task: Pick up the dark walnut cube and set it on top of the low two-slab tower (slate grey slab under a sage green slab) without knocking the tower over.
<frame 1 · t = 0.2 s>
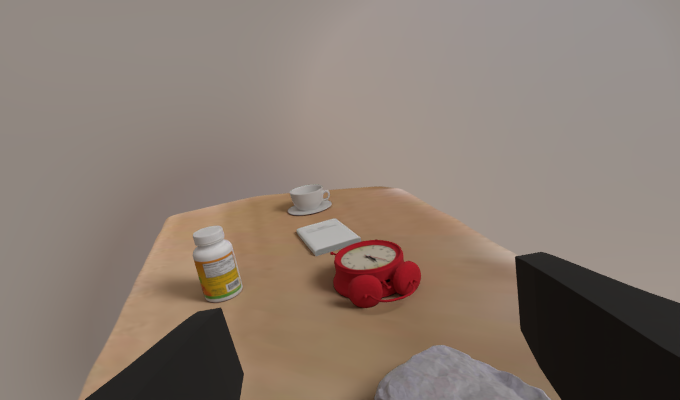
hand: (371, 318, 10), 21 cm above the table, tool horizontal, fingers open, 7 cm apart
teacup: (310, 209, 91), on the table
supplement bottle: (224, 294, 59), on the table
alarm clock: (377, 287, 54), on the table
external hard drive: (328, 241, 73), on the table
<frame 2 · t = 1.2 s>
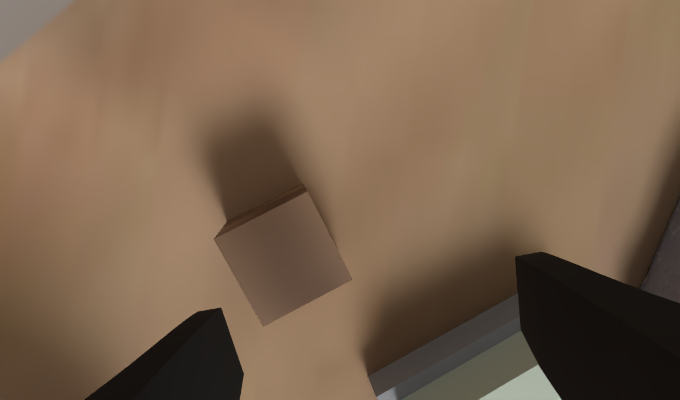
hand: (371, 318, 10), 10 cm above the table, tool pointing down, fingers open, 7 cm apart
walnut cube: (284, 238, 20), on the table
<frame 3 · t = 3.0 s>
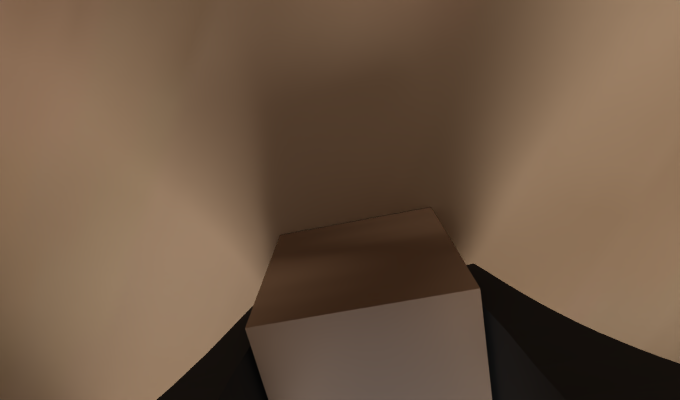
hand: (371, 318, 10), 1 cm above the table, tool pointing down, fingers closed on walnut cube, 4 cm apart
walnut cube: (368, 287, 11), on the table, touching gripper
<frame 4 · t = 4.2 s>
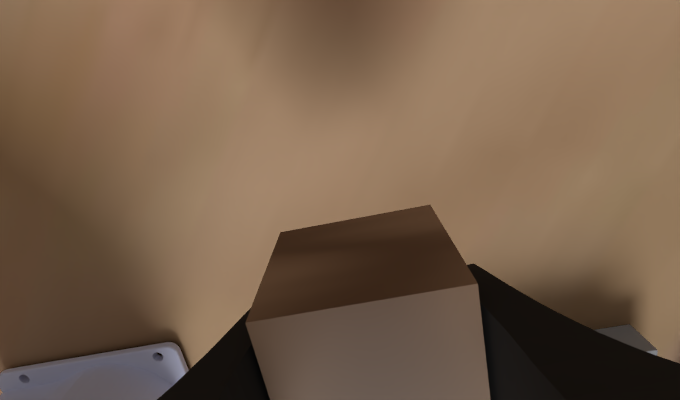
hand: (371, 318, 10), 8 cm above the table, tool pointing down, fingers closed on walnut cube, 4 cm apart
walnut cube: (367, 284, 11), point 7 cm above the table, touching gripper
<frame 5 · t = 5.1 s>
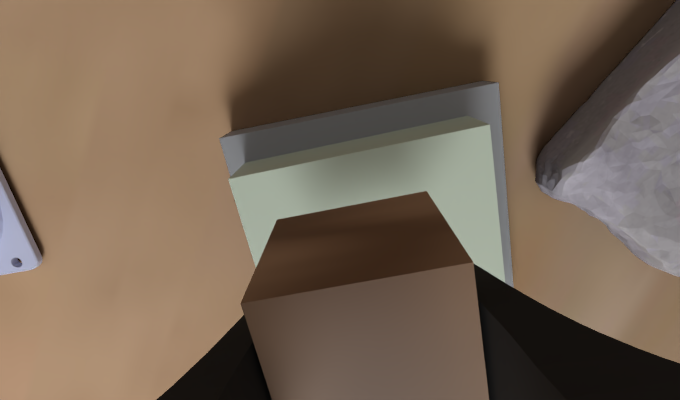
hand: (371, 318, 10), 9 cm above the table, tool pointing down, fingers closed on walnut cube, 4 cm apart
walnut cube: (364, 272, 11), point 8 cm above the table, touching gripper
green top slab: (374, 241, 17), point 2 cm above the table
grey base slab: (374, 218, 20), on the table
when the fingers open (7 cm above the table, at t = 6.1 s): walnut cube drops 1 cm, point 4 cm above the table.
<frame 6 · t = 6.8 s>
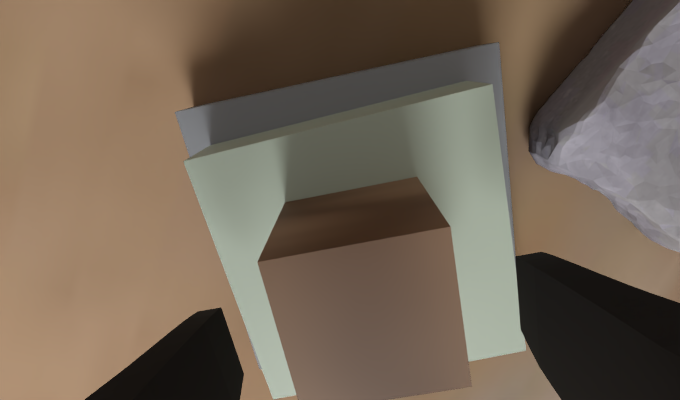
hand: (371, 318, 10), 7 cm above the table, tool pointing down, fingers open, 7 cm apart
walnut cube: (362, 250, 13), point 4 cm above the table
green top slab: (364, 232, 15), point 2 cm above the table, touching grey base slab
grey base slab: (360, 206, 18), on the table, touching green top slab
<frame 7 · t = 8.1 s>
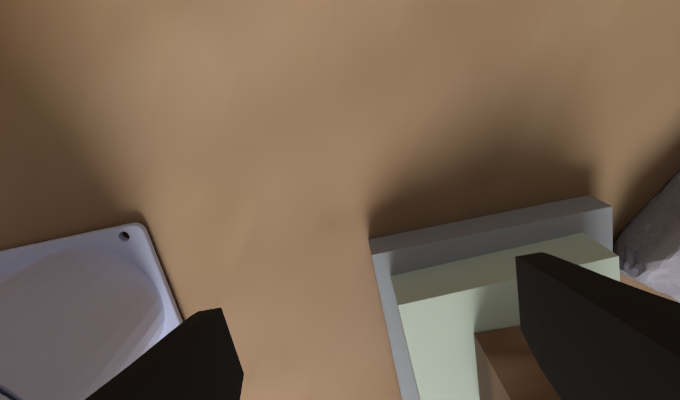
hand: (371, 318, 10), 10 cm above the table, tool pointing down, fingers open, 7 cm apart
walnut cube: (522, 364, 18), point 4 cm above the table, touching green top slab
green top slab: (497, 334, 20), point 2 cm above the table, touching grey base slab, walnut cube
grey base slab: (483, 303, 23), on the table, touching green top slab
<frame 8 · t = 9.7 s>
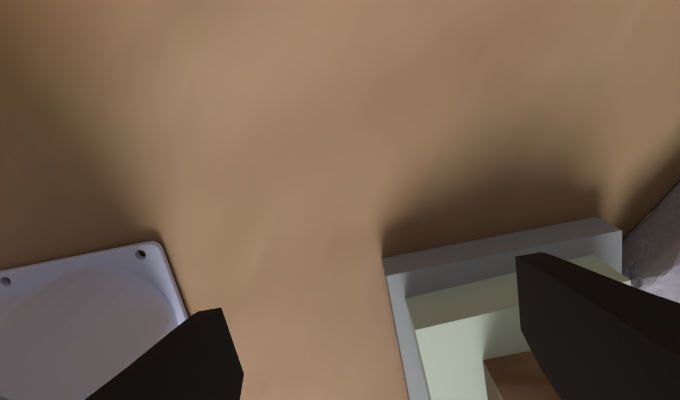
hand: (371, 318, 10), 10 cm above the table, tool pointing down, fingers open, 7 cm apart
walnut cube: (531, 387, 18), point 4 cm above the table, touching green top slab
green top slab: (509, 353, 21), point 2 cm above the table, touching grey base slab, walnut cube
grey base slab: (492, 321, 23), on the table, touching green top slab
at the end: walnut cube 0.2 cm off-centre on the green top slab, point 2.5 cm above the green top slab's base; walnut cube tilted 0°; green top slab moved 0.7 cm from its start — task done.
